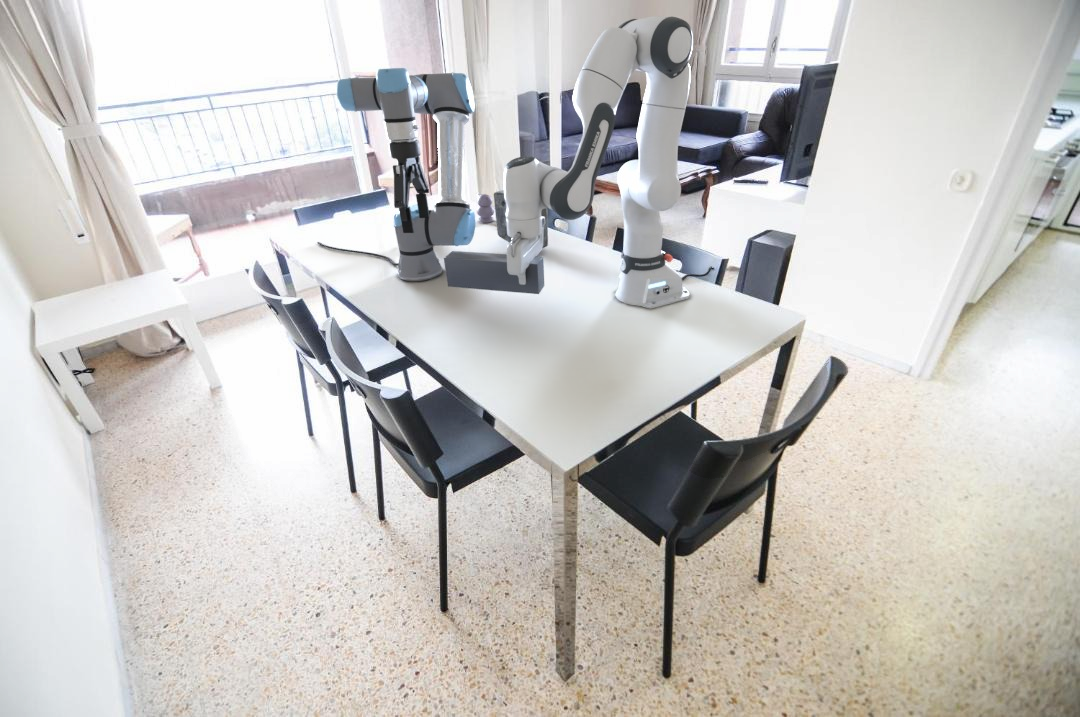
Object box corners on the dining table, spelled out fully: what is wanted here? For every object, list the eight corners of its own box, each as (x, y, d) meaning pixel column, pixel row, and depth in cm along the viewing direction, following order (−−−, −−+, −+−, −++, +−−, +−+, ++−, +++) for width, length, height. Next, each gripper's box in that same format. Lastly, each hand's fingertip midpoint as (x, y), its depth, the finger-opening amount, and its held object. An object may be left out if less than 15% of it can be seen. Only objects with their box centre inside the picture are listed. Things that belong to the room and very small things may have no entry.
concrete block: (553, 252, 189) (552, 199, 179) (534, 258, 185) (532, 204, 175) (514, 236, 208) (511, 187, 198) (496, 241, 204) (492, 191, 193)
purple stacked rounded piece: (498, 220, 229) (496, 193, 223) (486, 224, 225) (483, 197, 218) (486, 217, 234) (484, 191, 228) (473, 221, 230) (471, 194, 223)
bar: (447, 286, 137) (443, 257, 132) (456, 278, 141) (452, 250, 137) (538, 294, 130) (537, 264, 126) (544, 285, 134) (543, 256, 130)
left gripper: (400, 148, 112) (415, 239, 123) (432, 132, 133) (443, 212, 144) (368, 148, 113) (386, 239, 124) (405, 133, 134) (418, 212, 145)
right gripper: (523, 240, 115) (527, 295, 122) (546, 215, 132) (548, 265, 139) (498, 239, 117) (502, 293, 124) (524, 215, 133) (527, 263, 141)
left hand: (417, 225), depth 134 cm, fingers open, 13 cm apart
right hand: (527, 278), depth 132 cm, fingers closed on bar, 5 cm apart
